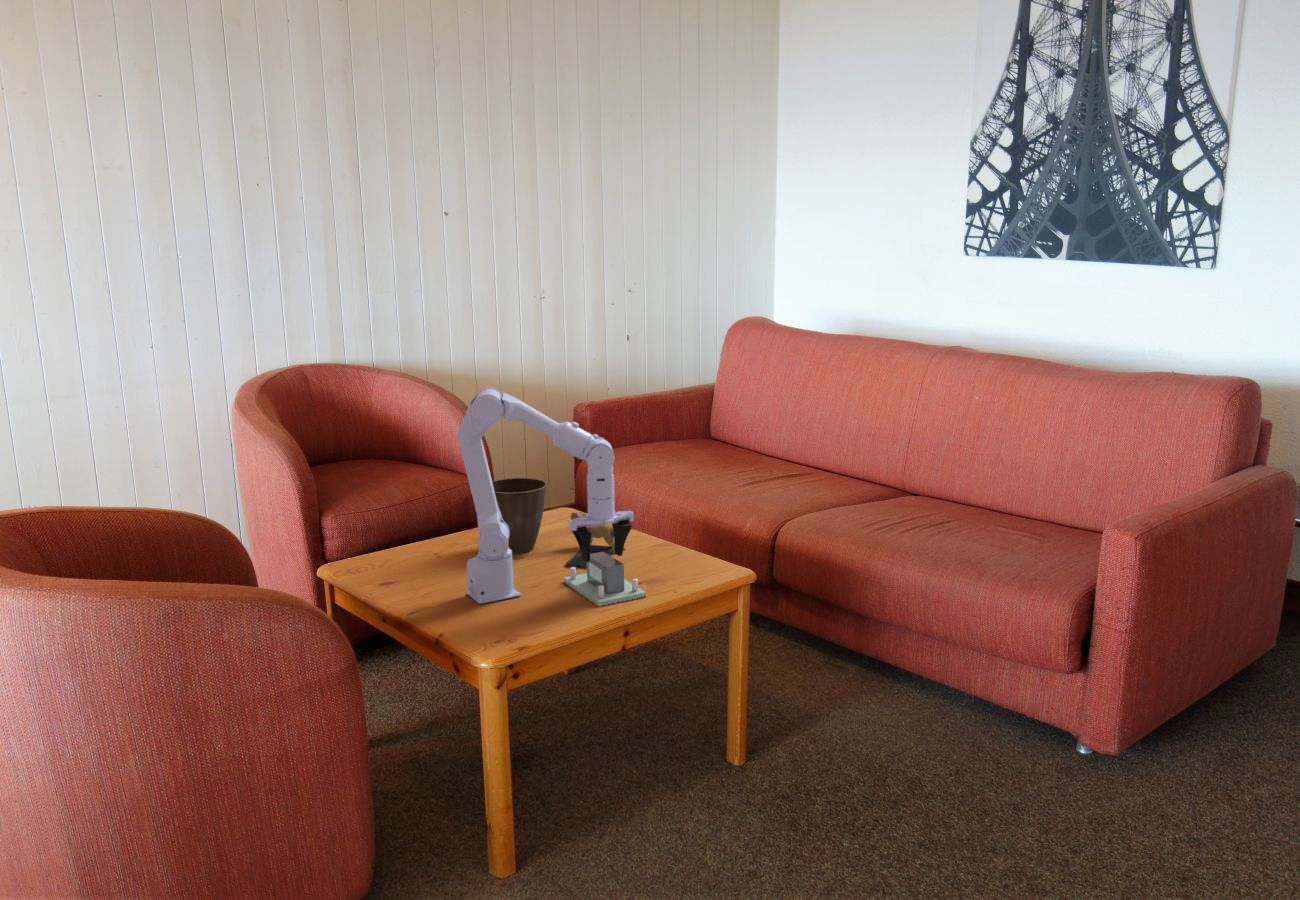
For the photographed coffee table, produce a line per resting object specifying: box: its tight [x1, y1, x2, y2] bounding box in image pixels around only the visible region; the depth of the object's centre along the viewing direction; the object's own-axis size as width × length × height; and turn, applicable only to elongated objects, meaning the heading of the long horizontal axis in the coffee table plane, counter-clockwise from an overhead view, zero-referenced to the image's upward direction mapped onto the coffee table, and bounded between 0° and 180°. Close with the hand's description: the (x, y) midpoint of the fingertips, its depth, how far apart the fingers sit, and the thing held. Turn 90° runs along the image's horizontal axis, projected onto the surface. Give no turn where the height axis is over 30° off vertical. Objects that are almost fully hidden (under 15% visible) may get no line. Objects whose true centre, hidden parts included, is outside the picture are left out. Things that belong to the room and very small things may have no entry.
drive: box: [586, 552, 625, 594], centre depth 237 cm, size 4×10×6 cm, turn 28°
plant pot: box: [492, 477, 547, 554], centre depth 267 cm, size 15×15×16 cm
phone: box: [565, 544, 614, 570], centre depth 260 cm, size 8×1×15 cm
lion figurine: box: [570, 510, 626, 555], centre depth 266 cm, size 15×5×9 cm, turn 66°
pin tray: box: [562, 567, 647, 607], centre depth 239 cm, size 11×18×4 cm, turn 28°
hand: (602, 557), depth 237 cm, fingers open, 7 cm apart
